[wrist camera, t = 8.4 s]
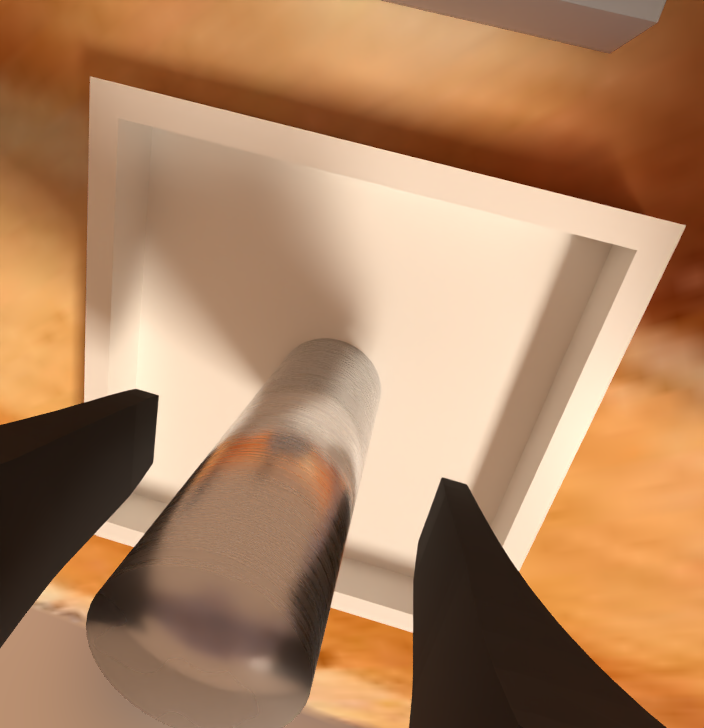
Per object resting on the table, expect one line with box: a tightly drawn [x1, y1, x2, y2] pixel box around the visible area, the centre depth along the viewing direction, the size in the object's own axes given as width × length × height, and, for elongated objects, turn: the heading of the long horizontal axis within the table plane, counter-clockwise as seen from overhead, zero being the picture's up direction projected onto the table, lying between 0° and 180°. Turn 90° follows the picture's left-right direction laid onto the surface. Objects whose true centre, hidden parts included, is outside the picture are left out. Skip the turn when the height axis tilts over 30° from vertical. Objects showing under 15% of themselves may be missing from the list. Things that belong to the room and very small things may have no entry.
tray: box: [84, 76, 686, 633], centre depth 16 cm, size 15×15×2 cm
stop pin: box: [86, 338, 381, 728], centre depth 12 cm, size 4×4×10 cm
